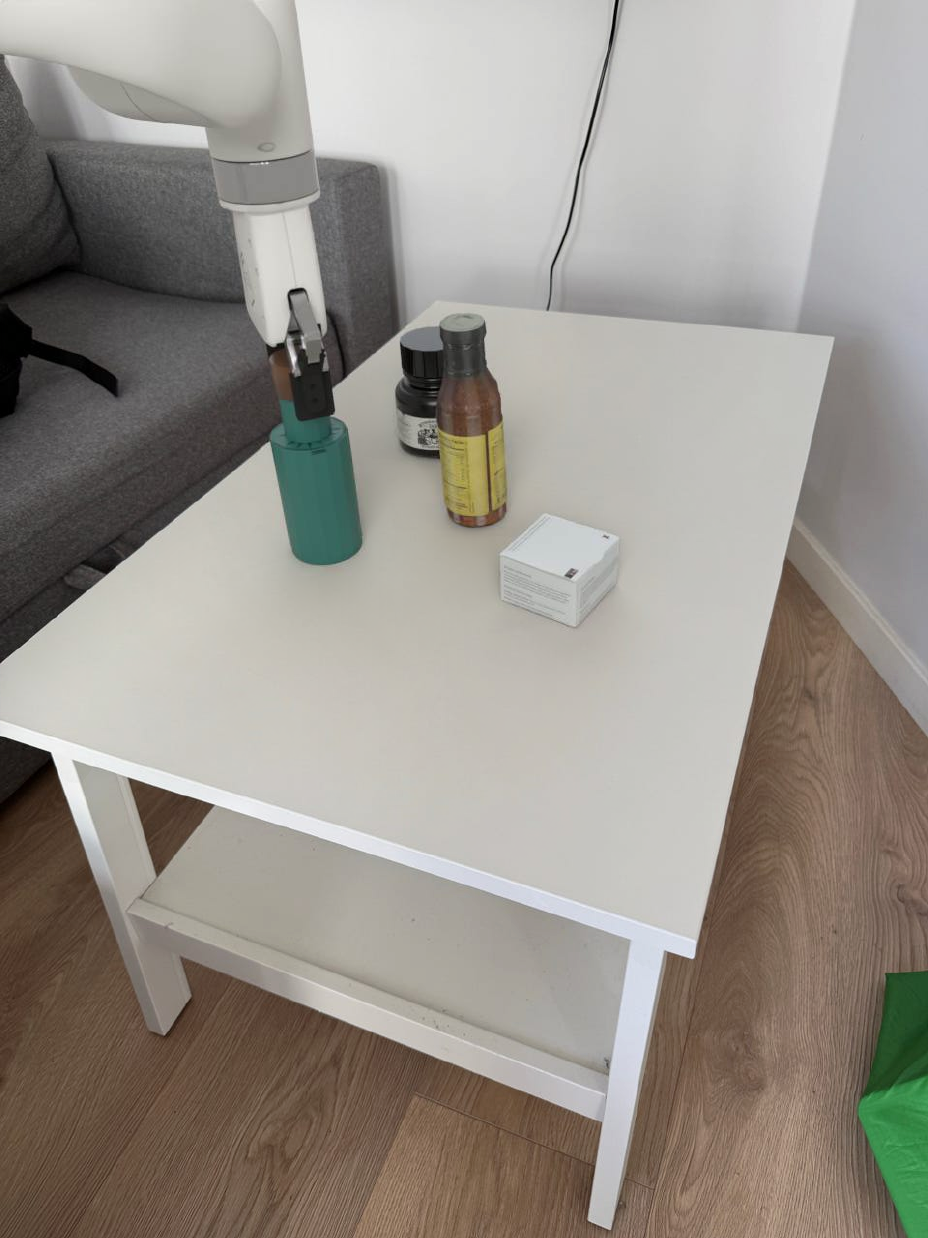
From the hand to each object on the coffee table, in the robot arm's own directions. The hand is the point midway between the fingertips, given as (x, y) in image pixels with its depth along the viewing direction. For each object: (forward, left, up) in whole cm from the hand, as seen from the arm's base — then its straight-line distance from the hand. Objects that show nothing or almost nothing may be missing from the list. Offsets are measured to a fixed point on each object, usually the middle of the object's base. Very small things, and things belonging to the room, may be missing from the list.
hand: (302, 393), depth 78 cm
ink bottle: (+17, +15, -16) cm, 28 cm away
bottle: (0, 0, -16) cm, 16 cm away
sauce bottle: (+15, -1, -16) cm, 22 cm away
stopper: (0, 0, -2) cm, 2 cm away
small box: (+17, -16, -16) cm, 28 cm away
